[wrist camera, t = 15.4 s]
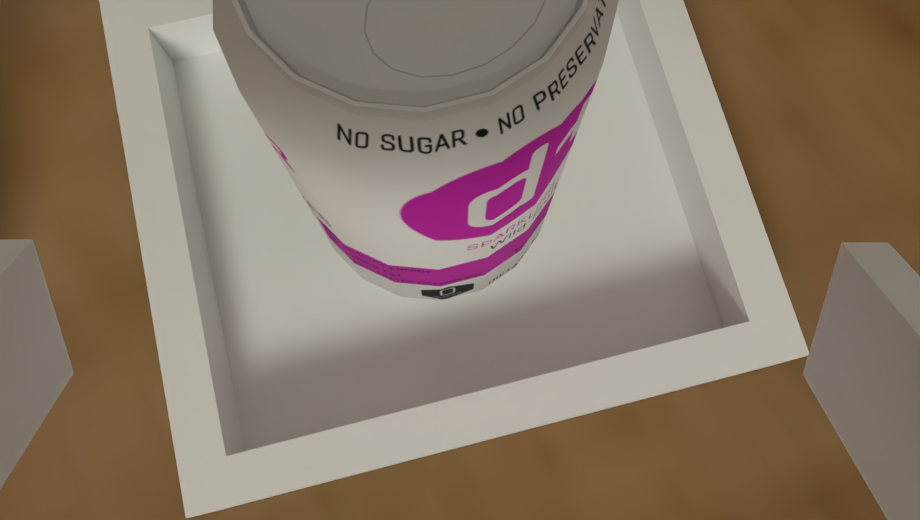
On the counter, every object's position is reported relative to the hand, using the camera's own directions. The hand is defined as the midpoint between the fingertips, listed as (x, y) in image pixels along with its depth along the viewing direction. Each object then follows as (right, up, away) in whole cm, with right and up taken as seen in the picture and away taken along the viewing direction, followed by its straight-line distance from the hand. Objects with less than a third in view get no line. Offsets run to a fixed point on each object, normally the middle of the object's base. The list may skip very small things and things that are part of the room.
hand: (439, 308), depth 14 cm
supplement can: (-1, +3, +16) cm, 16 cm away
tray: (0, +3, +17) cm, 17 cm away
